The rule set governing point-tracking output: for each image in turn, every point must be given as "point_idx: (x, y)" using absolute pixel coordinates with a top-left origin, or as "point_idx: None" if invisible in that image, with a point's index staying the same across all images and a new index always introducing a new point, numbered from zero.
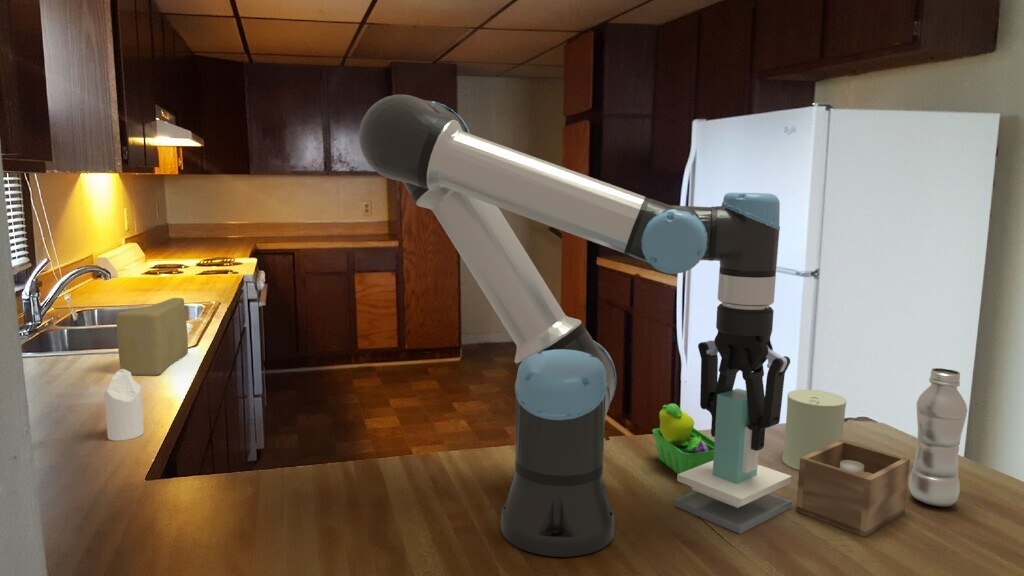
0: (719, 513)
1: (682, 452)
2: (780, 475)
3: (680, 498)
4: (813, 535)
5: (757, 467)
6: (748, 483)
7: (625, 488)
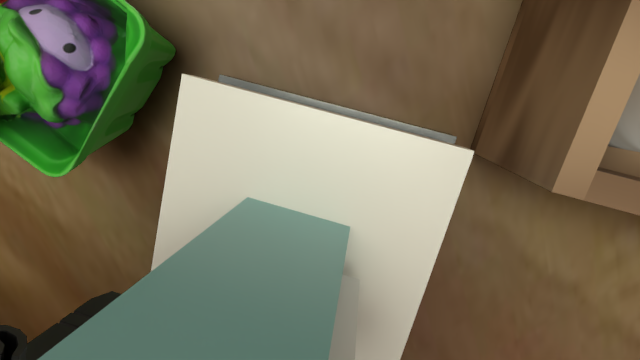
0: None
1: (48, 172)
2: (431, 173)
3: None
4: (543, 277)
5: (359, 282)
6: None
7: (49, 277)
